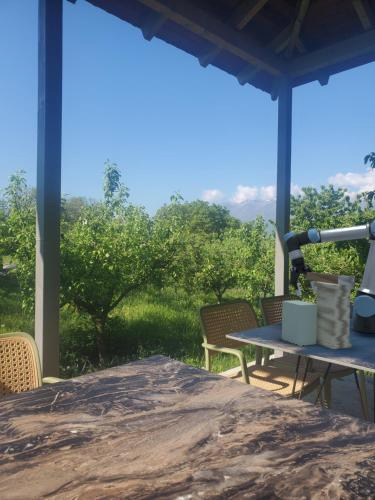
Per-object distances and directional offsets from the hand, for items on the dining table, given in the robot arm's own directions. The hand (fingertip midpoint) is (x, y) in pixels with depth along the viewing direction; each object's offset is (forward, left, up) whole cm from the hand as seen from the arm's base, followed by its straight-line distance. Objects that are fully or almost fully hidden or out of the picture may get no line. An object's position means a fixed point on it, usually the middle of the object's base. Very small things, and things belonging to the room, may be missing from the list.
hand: (307, 293), depth 226 cm
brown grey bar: (+12, +29, +9) cm, 32 cm away
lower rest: (+24, +22, -20) cm, 38 cm away
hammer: (-41, -16, -21) cm, 49 cm away
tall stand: (+12, +32, -20) cm, 40 cm away
